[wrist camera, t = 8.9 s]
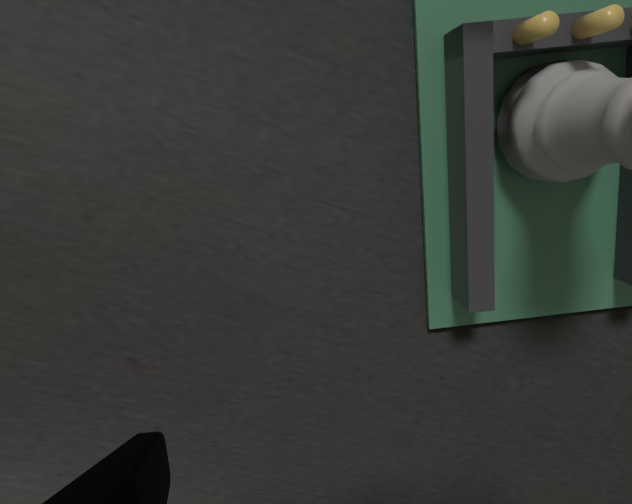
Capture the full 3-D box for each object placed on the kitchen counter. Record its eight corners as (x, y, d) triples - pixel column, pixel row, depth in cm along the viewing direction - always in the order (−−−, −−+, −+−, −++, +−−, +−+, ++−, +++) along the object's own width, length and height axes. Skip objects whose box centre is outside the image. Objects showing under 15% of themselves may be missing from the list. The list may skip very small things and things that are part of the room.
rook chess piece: (511, 198, 19) (661, 246, 12) (475, 91, 18) (615, 65, 10) (615, 152, 19) (840, 169, 11) (586, 41, 18) (813, -24, 10)
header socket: (651, 300, 21) (730, 337, 17) (427, 326, 21) (458, 370, 17) (677, -27, 18) (782, -70, 14) (412, -2, 18) (447, -39, 14)
